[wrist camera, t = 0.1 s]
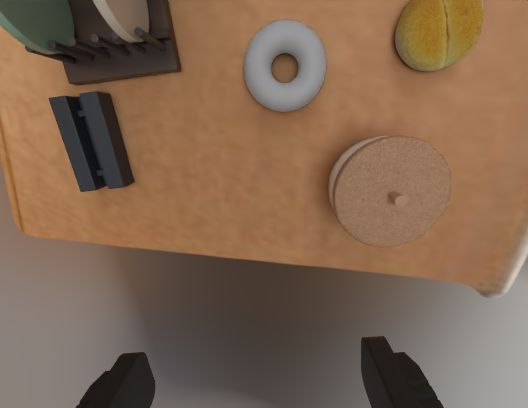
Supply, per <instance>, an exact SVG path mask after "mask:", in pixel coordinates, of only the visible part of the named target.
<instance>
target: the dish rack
mask: <svg viewBox="0 0 528 408" xmlns="http://www.w3.org/2000/svg"><path fill="white" fill-rule="evenodd" d="M146 1H147V6H148V13H149V32H148V33H147V32H146V31H144V30H143V29H141V28H140V27H136V28H135V30H134V32H135V34H136V35H137V36H138V37H140V38H141V39H143V40H144V41H142V42H136V43H129V42H127V41H125V40H123V39H122V38H121V37H120V36H118V35H117V34H116V33H115V32H114V31H113V29H112V28H111V27H110V26H109V25H108V23H107V22H106V20H105V19H104V18H103V16H102V15H101V13H100V12H99V10H98V8H97V7H96V5H95V3H94V2H93V0H68V3H69V6H70V9H71V12H72V16H73V21H74V30H75V31H74V38H73V37H69V38H68V43H69V45H71V47H70V46H67V45H64V44H61V43H59V42H56V41H53V40H49V41H48V46H49V47H50V48H51V49H54V50H57V51H60V52H63V53H60V54H53V55H50V54H43V53H40V52H37V51H35V50H33V49H31V48H29V47H27V46H26V45H25V48H26V50H27V51H28V52H31V53H34V54H38V55H42V56H45V57H49V58H52V59H56V60H60V61H62V62H63V65H64V68H65V71H66V75H67V78H68V81H69V84H73V85H84V84H91V83H98V82H106V81H113V80H120V79H128V78H135V77H143V76H150V75H157V74H165V73H172V72H179V71H181V66H180V61H179V56H178V51H177V46H176V41H175V35H174V30H173V25H172V20H171V15H170V9H169V4H168V0H146Z"/></svg>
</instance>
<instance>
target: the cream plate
mask: <svg viewBox="0 0 528 408" xmlns="http://www.w3.org/2000/svg"><path fill="white" fill-rule="evenodd" d="M93 2H94V3H95V5H96V7H97V8H98V10H99V12H100V13H101V15H102V16H103V18H104V19H105V20H106V22H107V23H108V25H109V26H110V27H111V28H112V29H113V31H114V32H115V33H116V34H117V35H118V36H120V37H121V38H122V39H123V40H125V41H127V42H129V43H136V42H142V41H144V40H143V39H141V38H140V37H138V36H137V35H136V34H135V32H134V30H135V28H136V27H140V28H141V29H143V30H144V31H146V32H147V33H148V32H149V13H148V6H147V1H146V0H93Z"/></svg>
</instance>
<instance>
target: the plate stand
mask: <svg viewBox="0 0 528 408" xmlns="http://www.w3.org/2000/svg"><path fill="white" fill-rule="evenodd" d="M49 101H50V104H51V107H52V110H53V113H54V115H55V118H56V121H57V124H58V127H59V130H60V133H61V136H62V139H63V142H64V144H65V147H66V150H67V153H68V156H69V159H70V162H71V165H72V168H73V171H74V173H75V176H76V179H77V182H78V185H79V188H80V191H81V192H84V191H93V190H98V189H100V188H102V187H105V186H108V188H109V189H112V188H121V187H125V186H128V185H130V184H132V183H133V182H134V179H133V176H132V172H131V169H130V165H129V161H128V158H127V154H126V150H125V147H124V143H123V140H122V136H121V132H120V129H119V125H118V121H117V118H116V114H115V111H114V107H113V103H112V100H111V96H110V94H107V93H102V92H90V93H82V94H80V97H71V96H60V97H53V98H49Z"/></svg>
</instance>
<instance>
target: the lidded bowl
mask: <svg viewBox="0 0 528 408" xmlns="http://www.w3.org/2000/svg"><path fill="white" fill-rule="evenodd" d="M451 189H452V179H451V172H450V169H449V166H448V164H447V162H446V160H445V158H444V157H443V155H442V154H441V153H440V152H439V151H438V150H437V149H436V148H435V147H434V146H432V145H431V144H429V143H427V142H425V141H423V140H421V139H418V138H414V137H408V136H380V137H374V138H369V139H366V140H364V141H361V142H359V143H357V144H355V145H353V146H352V147H350V148H349V149H348V150H346V151H345V152H344V153H343V154H342V155H341V156H340V158H339V159H338V160H337V162H336V163H335V165H334V167H333V169H332V172H331V174H330V179H329V190H328V191H329V198H330V202H331V205H332V208H333V210H334V212H335V215H336V217H337V219H338V221H339V223H340V224H341V225H342V227H343V228H344V229H345V231H346V232H347V233H348V234H349V235H351V236H352V237H353V238H355V239H356V240H358V241H360V242H362V243H364V244H367V245H371V246H377V247H392V246H399V245H402V244H405V243H408V242H411V241H413V240H415V239H417V238H419V237H420V236H422V235H423V234H425V233H426V232H427V231H429V230H430V229H431V228H432V227H433V226H434V225H435V224H436V223H437V222H438V220H439V219H440V218H441V216H442V215H443V213H444V211H445V209H446V207H447V205H448V202H449V199H450V195H451Z"/></svg>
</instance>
